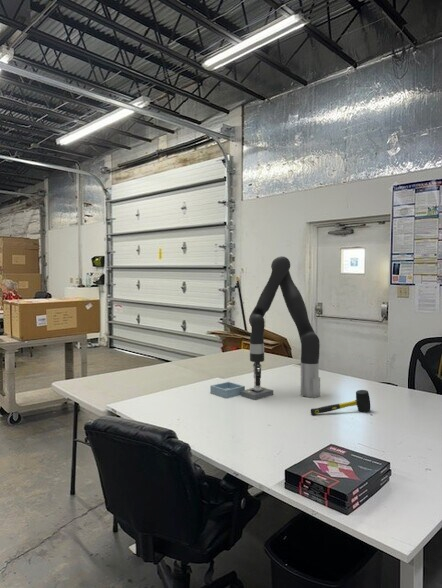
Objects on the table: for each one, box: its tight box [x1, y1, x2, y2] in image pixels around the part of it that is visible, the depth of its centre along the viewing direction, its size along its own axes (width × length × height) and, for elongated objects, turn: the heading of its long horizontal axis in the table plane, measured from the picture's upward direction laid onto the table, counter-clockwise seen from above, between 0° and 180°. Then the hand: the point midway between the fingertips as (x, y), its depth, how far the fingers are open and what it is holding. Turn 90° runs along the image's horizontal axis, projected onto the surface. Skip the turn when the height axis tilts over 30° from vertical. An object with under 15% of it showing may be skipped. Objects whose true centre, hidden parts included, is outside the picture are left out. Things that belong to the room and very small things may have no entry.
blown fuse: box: [253, 373, 262, 392], centre depth 215 cm, size 4×4×9 cm
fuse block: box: [240, 386, 274, 401], centre depth 215 cm, size 10×14×3 cm
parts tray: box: [209, 381, 246, 399], centre depth 219 cm, size 13×13×4 cm
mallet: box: [310, 389, 371, 416], centre depth 187 cm, size 29×6×10 cm, turn 103°
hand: (257, 384), depth 215 cm, fingers closed on blown fuse, 3 cm apart
